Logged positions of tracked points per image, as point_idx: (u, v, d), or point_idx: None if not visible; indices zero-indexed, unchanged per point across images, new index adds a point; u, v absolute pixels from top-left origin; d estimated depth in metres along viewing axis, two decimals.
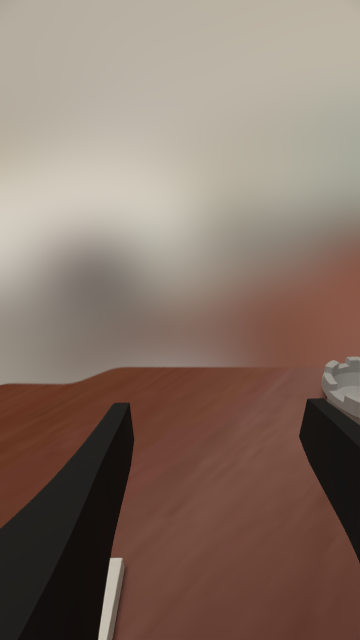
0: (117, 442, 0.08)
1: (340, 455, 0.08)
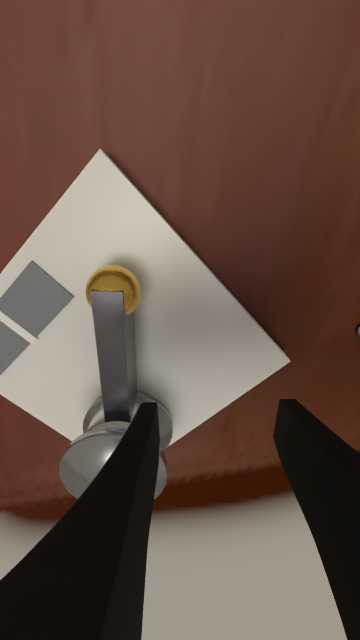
0: (151, 441, 0.08)
1: (306, 456, 0.08)
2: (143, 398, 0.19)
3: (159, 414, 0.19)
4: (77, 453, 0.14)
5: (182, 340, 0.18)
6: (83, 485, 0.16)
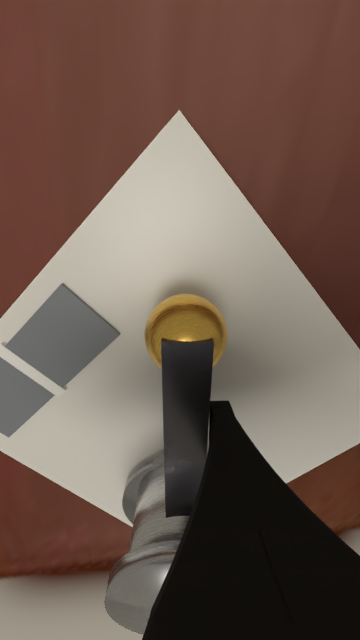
0: None
1: None
2: None
3: None
4: (134, 582, 0.09)
5: (266, 390, 0.13)
6: (138, 615, 0.11)
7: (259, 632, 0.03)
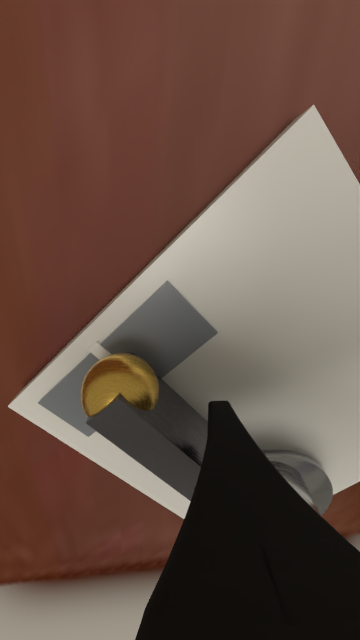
0: None
1: None
2: None
3: (292, 466, 0.13)
4: None
5: (353, 388, 0.13)
6: None
7: (252, 632, 0.03)
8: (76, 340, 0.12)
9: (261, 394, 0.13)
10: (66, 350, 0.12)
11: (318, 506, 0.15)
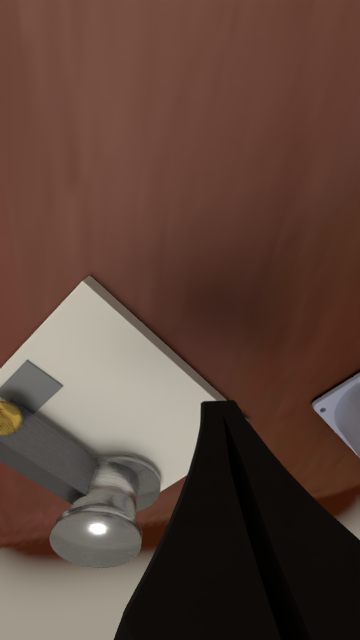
0: None
1: (231, 457, 0.08)
2: (103, 462, 0.21)
3: (125, 465, 0.21)
4: (56, 542, 0.18)
5: (157, 417, 0.21)
6: (87, 558, 0.19)
7: (229, 633, 0.03)
8: None
9: (101, 420, 0.21)
10: None
11: (153, 491, 0.23)
